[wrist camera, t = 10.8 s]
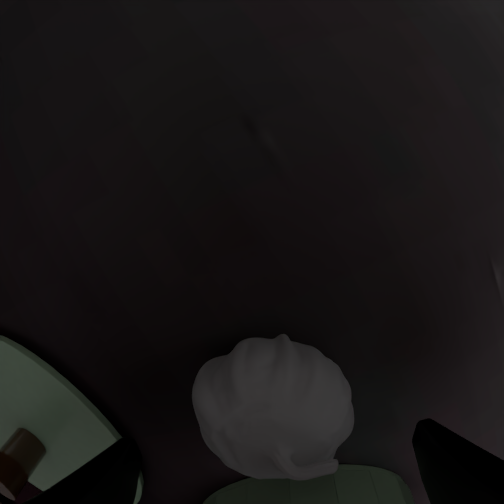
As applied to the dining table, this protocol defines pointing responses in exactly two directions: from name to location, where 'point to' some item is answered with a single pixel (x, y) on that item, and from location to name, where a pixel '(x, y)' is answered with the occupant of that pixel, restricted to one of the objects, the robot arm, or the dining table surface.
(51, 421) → the lid
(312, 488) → the squat sage green cylinder
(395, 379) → the dining table surface
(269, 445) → the garlic
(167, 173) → the dining table surface
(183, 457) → the dining table surface
